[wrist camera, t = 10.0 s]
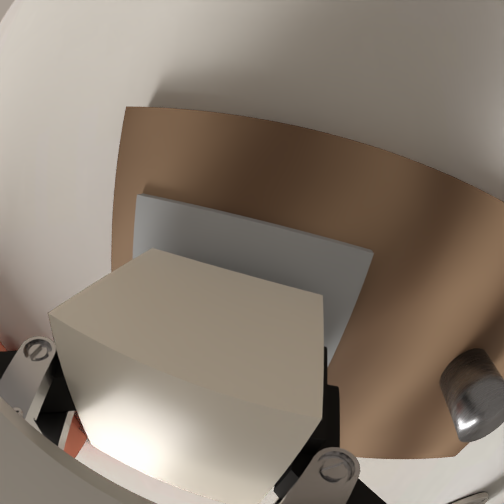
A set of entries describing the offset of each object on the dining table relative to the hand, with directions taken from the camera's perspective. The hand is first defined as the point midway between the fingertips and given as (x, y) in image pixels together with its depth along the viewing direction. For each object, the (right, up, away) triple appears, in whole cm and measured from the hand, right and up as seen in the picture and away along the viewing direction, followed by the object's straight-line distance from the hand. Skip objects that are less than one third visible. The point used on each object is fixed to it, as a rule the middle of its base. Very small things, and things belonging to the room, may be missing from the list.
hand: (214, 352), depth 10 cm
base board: (+6, 0, +3) cm, 7 cm away
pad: (0, +1, +2) cm, 2 cm away
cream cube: (0, 0, +1) cm, 1 cm away
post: (+12, -2, 0) cm, 12 cm away
